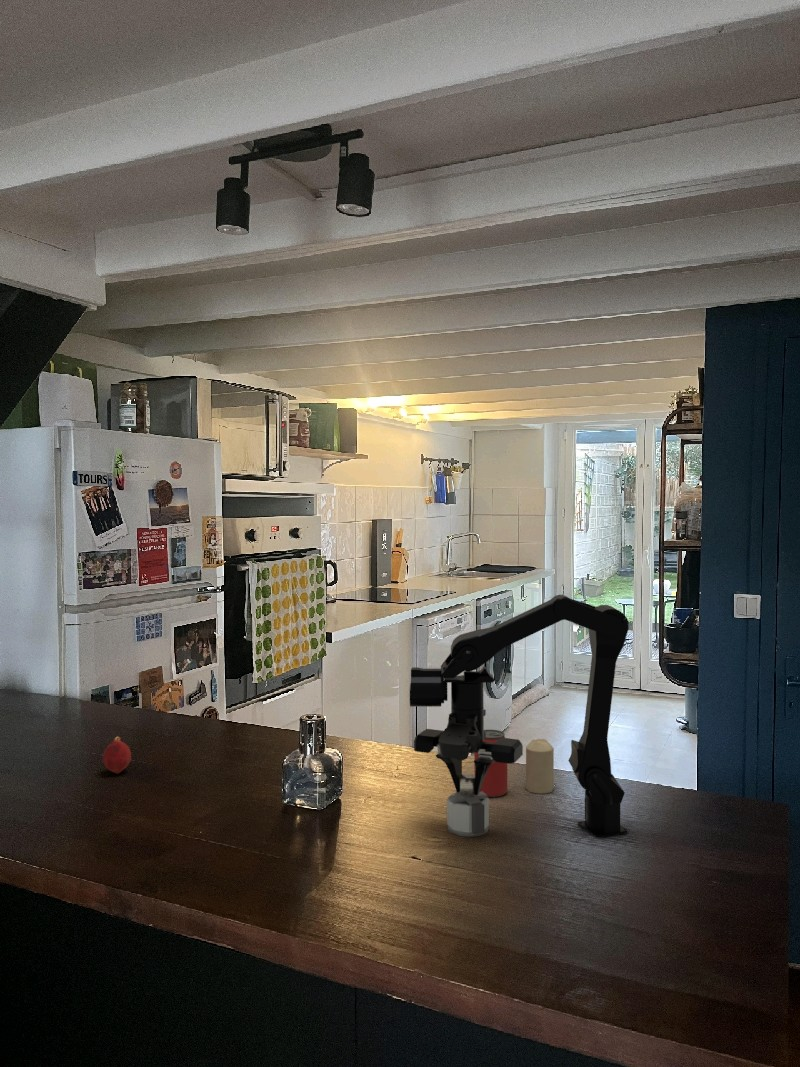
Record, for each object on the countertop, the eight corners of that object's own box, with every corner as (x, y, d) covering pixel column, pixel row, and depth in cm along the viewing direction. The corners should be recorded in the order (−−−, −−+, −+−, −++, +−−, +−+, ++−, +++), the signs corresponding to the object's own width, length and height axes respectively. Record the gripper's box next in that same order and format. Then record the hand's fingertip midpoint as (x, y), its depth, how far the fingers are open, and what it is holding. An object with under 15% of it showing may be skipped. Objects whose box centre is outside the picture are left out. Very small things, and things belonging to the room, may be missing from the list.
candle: (545, 796, 162) (545, 746, 162) (521, 790, 166) (521, 741, 165) (558, 788, 167) (558, 739, 166) (534, 782, 170) (534, 734, 170)
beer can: (506, 799, 161) (506, 738, 160) (472, 797, 162) (472, 737, 161) (508, 787, 167) (508, 729, 167) (476, 785, 168) (476, 727, 168)
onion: (125, 778, 175) (125, 741, 175) (99, 778, 175) (98, 741, 175) (135, 769, 181) (134, 733, 180) (109, 769, 181) (108, 733, 181)
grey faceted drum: (498, 835, 143) (498, 801, 143) (460, 842, 141) (460, 807, 140) (477, 818, 151) (477, 786, 151) (441, 824, 148) (441, 791, 148)
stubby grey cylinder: (485, 822, 145) (485, 779, 145) (461, 825, 143) (461, 782, 143) (474, 813, 149) (474, 771, 149) (451, 816, 148) (450, 774, 147)
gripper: (400, 711, 142) (401, 800, 143) (504, 723, 134) (504, 817, 135) (425, 697, 152) (426, 780, 153) (523, 707, 144) (523, 795, 145)
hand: (467, 793), depth 146 cm, fingers closed on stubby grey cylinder, 3 cm apart
